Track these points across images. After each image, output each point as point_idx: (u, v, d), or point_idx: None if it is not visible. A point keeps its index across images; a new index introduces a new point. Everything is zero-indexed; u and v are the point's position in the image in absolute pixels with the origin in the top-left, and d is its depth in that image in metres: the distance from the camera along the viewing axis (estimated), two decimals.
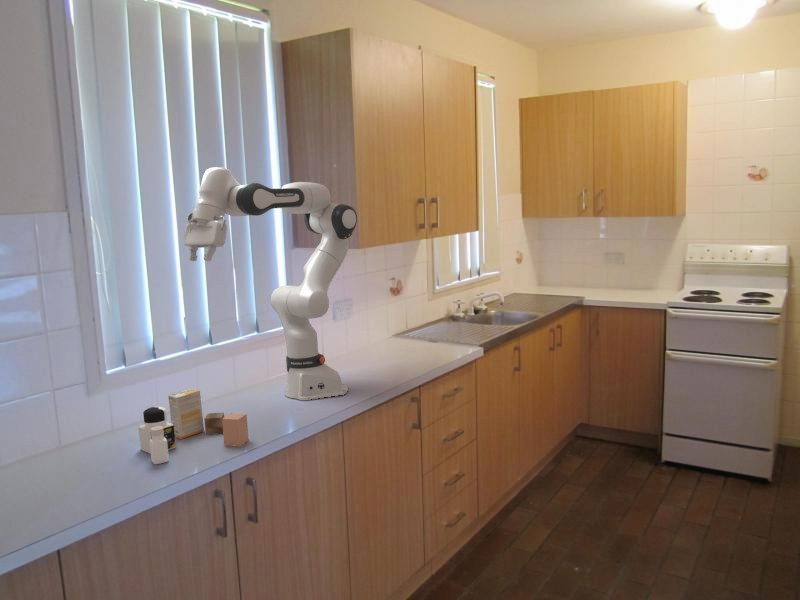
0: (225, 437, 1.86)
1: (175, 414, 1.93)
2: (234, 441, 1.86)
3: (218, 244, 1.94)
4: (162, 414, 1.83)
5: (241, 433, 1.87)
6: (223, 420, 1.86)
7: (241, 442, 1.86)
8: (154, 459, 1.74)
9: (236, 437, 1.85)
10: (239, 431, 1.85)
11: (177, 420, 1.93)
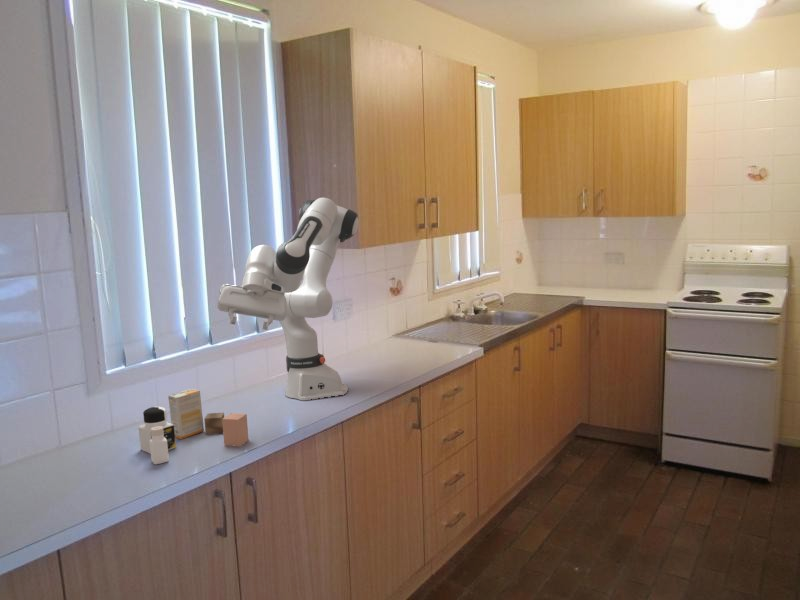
0: (225, 437, 1.86)
1: (175, 414, 1.93)
2: (234, 441, 1.86)
3: (218, 306, 1.93)
4: (162, 414, 1.84)
5: (241, 433, 1.87)
6: (223, 420, 1.86)
7: (241, 442, 1.86)
8: (154, 459, 1.74)
9: (236, 437, 1.85)
10: (239, 431, 1.85)
11: (177, 420, 1.93)
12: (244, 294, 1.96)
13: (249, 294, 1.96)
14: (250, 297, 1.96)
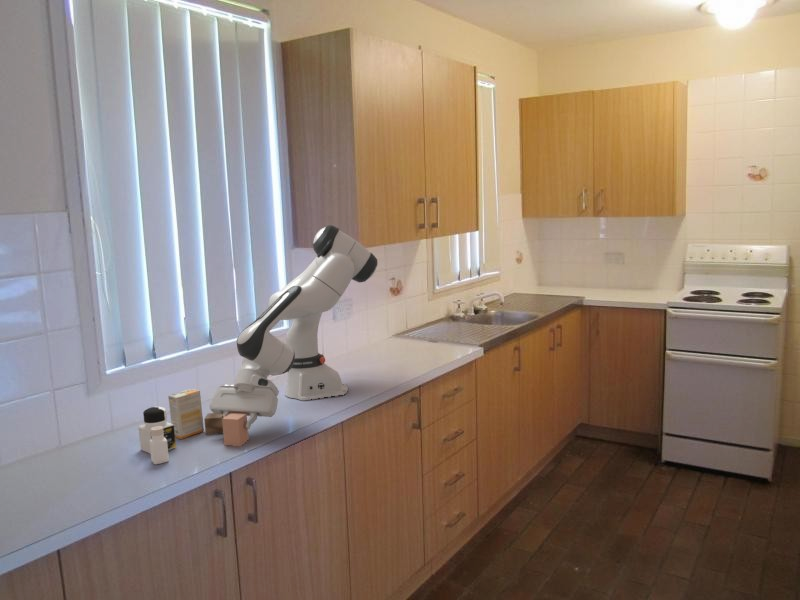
0: (225, 437, 1.86)
1: (175, 414, 1.93)
2: (233, 441, 1.86)
3: (212, 411, 1.94)
4: (162, 414, 1.84)
5: (241, 433, 1.87)
6: (223, 420, 1.86)
7: (241, 442, 1.86)
8: (154, 459, 1.74)
9: (236, 437, 1.85)
10: (239, 431, 1.85)
11: (177, 420, 1.93)
12: (234, 394, 1.94)
13: (239, 393, 1.93)
14: (239, 396, 1.93)
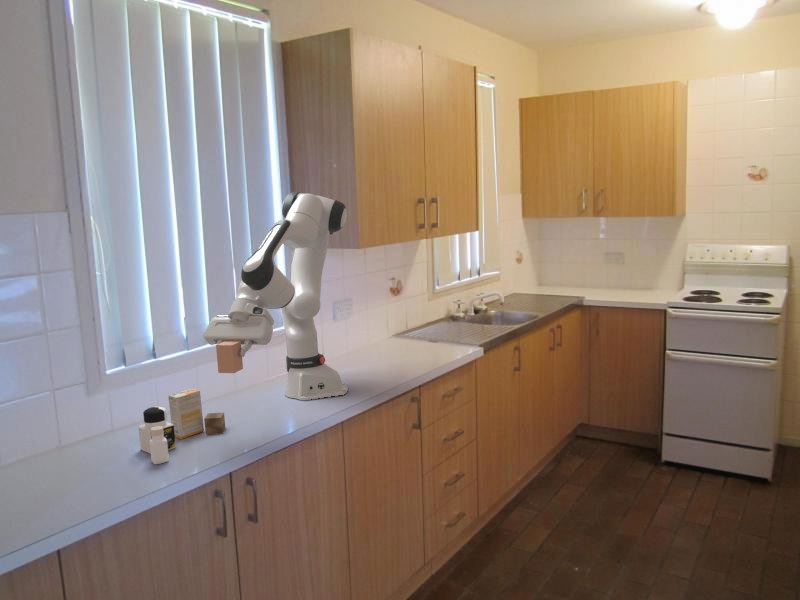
0: (219, 364, 1.83)
1: (175, 414, 1.93)
2: (228, 368, 1.83)
3: None
4: (162, 414, 1.84)
5: (235, 360, 1.83)
6: (217, 346, 1.82)
7: (235, 369, 1.83)
8: (154, 459, 1.74)
9: (230, 363, 1.82)
10: (233, 357, 1.82)
11: (177, 420, 1.93)
12: (229, 323, 1.90)
13: (233, 322, 1.90)
14: (234, 325, 1.90)
